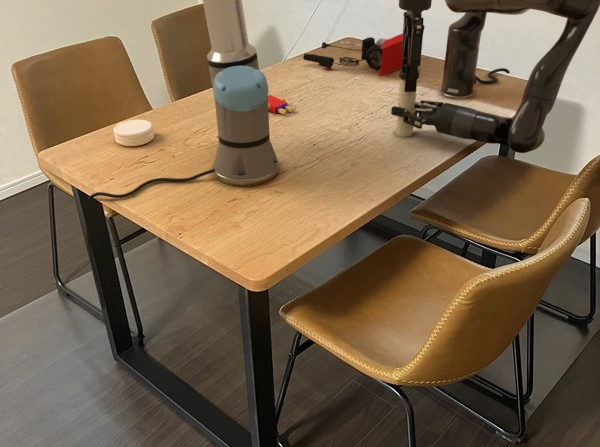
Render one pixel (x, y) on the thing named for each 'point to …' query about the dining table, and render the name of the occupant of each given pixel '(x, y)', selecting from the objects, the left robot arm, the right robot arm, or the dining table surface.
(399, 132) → the beige long cylinder
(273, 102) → the toy figure
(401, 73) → the lid
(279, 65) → the dining table surface
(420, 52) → the left robot arm
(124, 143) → the white short cylinder
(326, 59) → the electric hoist
